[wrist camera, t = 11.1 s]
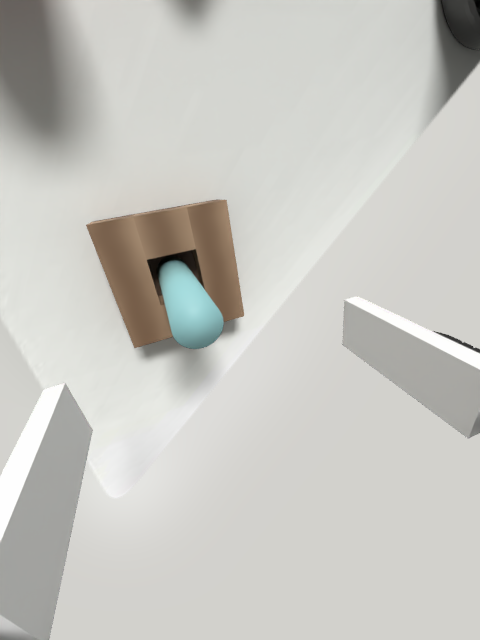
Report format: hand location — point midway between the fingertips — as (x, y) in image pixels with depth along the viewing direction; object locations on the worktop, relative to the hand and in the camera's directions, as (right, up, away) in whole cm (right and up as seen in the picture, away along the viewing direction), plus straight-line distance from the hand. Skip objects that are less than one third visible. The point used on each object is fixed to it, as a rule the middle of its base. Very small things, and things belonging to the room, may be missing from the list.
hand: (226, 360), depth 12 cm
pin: (-6, +7, +16) cm, 18 cm away
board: (-6, +7, +16) cm, 19 cm away
